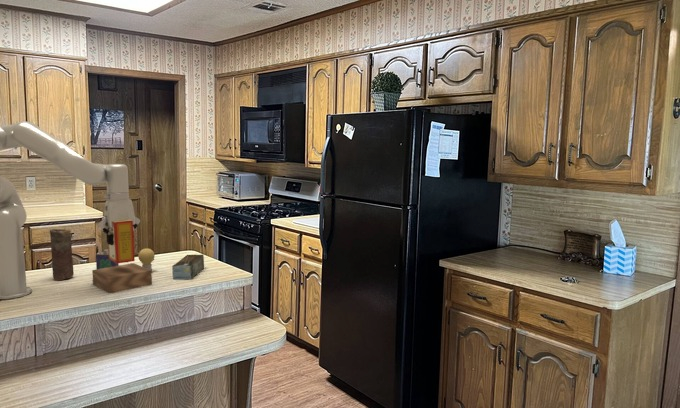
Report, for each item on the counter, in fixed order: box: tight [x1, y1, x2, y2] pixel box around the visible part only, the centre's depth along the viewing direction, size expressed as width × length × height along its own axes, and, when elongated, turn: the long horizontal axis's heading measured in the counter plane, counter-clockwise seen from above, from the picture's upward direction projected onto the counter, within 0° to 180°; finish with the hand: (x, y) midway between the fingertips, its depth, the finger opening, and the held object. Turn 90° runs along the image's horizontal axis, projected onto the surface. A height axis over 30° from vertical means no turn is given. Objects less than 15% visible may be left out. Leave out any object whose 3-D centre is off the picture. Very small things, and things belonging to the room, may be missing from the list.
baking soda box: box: [107, 220, 136, 265], centre depth 191 cm, size 10×6×16 cm
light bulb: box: [137, 248, 155, 270], centre depth 211 cm, size 6×6×10 cm
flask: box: [95, 248, 120, 270], centre depth 206 cm, size 9×3×11 cm, turn 88°
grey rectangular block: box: [171, 254, 205, 281], centre depth 209 cm, size 8×19×7 cm, turn 179°
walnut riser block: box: [91, 262, 153, 294], centre depth 193 cm, size 16×16×6 cm
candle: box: [49, 228, 75, 281], centre depth 199 cm, size 8×7×20 cm
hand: (120, 242), depth 191 cm, fingers closed on baking soda box, 7 cm apart
